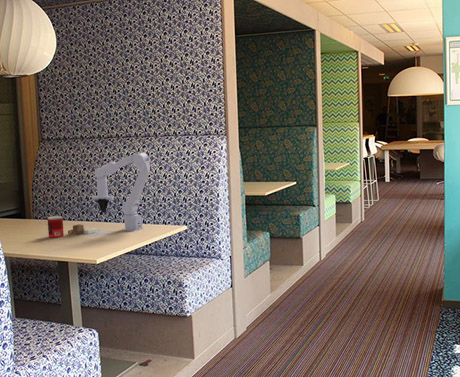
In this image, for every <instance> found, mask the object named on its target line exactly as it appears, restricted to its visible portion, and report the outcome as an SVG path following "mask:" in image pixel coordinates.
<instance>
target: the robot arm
mask: <svg viewBox="0 0 460 377" xmlns="http://www.w3.org/2000/svg"><path fill="white" fill-rule="evenodd" d="M150 161H151V159H150V157H149V155H148V154H147V153H146V152H140V153H134V154H131V155H127V156H126V157H124V158H122V159H120V160H118V161H117V162H115V161H109V162H108V163H107V164H105V165H104V164H103V165H101V167H97V168H96V169H95V170H94V176H95V177H96V190H97V191H96V192H97V195H92V196H91V200H96V203H97V204H98V206H99V208H100V211H101V213H106V212H107V207H108V204H109V202H110V201H114V200H115V196H114V195H108V194H109V192H108V191H109V190H108V176H109V175H111V174H114V173H116V172H118V171H119V169H120V168H121V167H123V166H126V165H128V164H133V165H134V166H135V167H137V169H138V171H139V173H138V175H137V178H136V181H135V182H134V185H133V188H132V190H131V192H130V195H129V197H128V198H127V200H125V202H124V204H123V205H122V207H121V211H122V213H123V214H124V217H123V218H124V228H122V229H121V231H130V232H132V231H133V232H135V231H139V230H144V227H143V217H142V215H141V214H138V210H139V203H140V200H139V199H140V197H141V195H142V192H143V189H144V187H145V185H146V182H147V180H148V177H149V175H150V173H151V167H150V165H151V164H150Z"/></svg>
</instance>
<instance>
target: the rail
mask: <svg viewBox="0 0 460 377" xmlns="http://www.w3.org/2000/svg"><path fill="white" fill-rule="evenodd" d="M67 236H74V235H73V228H72V229H68V230H67Z"/></svg>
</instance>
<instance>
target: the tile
mask: <svg viewBox="0 0 460 377" xmlns="http://www.w3.org/2000/svg"><path fill="white" fill-rule="evenodd" d="M97 230H98V228H96V227H95V228H94V227H84V234H90V233H94V232H97Z"/></svg>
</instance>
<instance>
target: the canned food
mask: <svg viewBox="0 0 460 377" xmlns="http://www.w3.org/2000/svg"><path fill="white" fill-rule="evenodd" d="M47 227H48V228H47V229H48V232H47V233H48V238H49V239H58V238H63V237H64V236H65V235H64V218H63V216H61V215H56V216H48V217H47Z"/></svg>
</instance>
